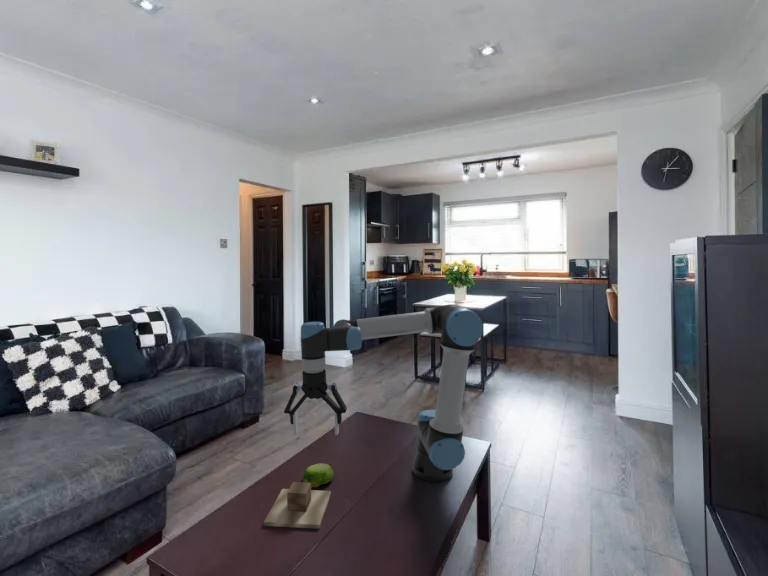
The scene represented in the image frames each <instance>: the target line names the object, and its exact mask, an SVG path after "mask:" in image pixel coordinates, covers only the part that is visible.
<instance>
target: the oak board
mask: <svg viewBox="0 0 768 576" xmlns="http://www.w3.org/2000/svg"><path fill="white" fill-rule="evenodd" d="M289 489H290V488H282V489H281V490H280V492H279V494H278V495H277V498H276V499H275V501H274V503H273V505H272V507H271V508H270V510H269V512H268V513H267V515H266V517H265V519H264V520H263V526H264V527H278V528H279V527H281V528H298V529H299V528H300V529H317V530H318V529H320V528H321V525H322V522H323V519H324V516H325V513H326V510H327V508H328V506H329V503H330V502H329V501H330V499H331V496H332V491H331V490H316V489H315V490H314V489H311V502H310V504H309V507H308V509H307V511H306V512H297V511H287V492H288V490H289Z"/></svg>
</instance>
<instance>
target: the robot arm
mask: <svg viewBox="0 0 768 576" xmlns="http://www.w3.org/2000/svg"><path fill="white" fill-rule="evenodd" d="M483 330H484V326H483V323H482V319H481V318H480V316H479V315H478V314H477V313H476V312H474V311H473V309H470V308H468V307H464V306H461V305H458V304H445V305H439V306H434V307H426V308H425V309H424V310H423V311H416V312H407V313H397V314H390V315H382V316H374V317H367V318H358V319H349V320H348V319H339V320H338V321H336V322H335V323H334V324H333V326H332V327H330V328H329V327H325V324H324V322H322V321H309V322H307V321H306V322H304V323H302V325H301V326H300V346H301V347H300V349H301V350H300V351H301V370H302V373H301V375H302V376H301V377H302V384H299V383H295V384H294V385H293V387H292V393H291V395H290V398H289V399H288V402H287V404H286V406H285V408H284V411H283V412H284V414H288V415H289V417H290V418H289V421H290V425H293V426H292V427H293V435H294V436H297V435H298V433H299V416H298V415H299V414H298V412H297V410H299V408H300V406H302V404H303V403H304V402H305V401H306V399H310V400H313V399H314V400H315V399H316V400H320V399H322V400H323V401H324V402H325V403H326V404H327V405H328V406H329V407H330V408H331V409H332V410H333V412H334V413H335V414H334V435H335V436H338V435H339V432H340V427H339V426H340V425H341V424H342V421H343V420H342V419H343V417H342V414H346V413H347V411H348V407H347V406H346V404H345V402H344V400H343V398H342V396H341V395H340V393H339V391H338V388H337V383H335V382H334V383H332V384H327V371H326V368H327V367H326V352H338V351H339V352H343V351H352V352H353V351H354V350H355V351H356V350H357V351H358V350H360V349H362V341H364V340H370V339H377V338H388V337H395V336H403V335H412V334H419V333H427V334H429V335H434V334H436V335H437V334H439V335H440V342H439V346H440V347H441V348H442V349H443V352H442V353H443V354H442V361H441V368H440V376H439V384H438V390H437V399H436V405H435V409H426V410H421V411H420V412H419V413H418V415H417V450H416V454H415V456H414V460H413V463H412V472H413V474H414V476H416V477H417V478H419V479H420V480H423V481H425V482H431V483H439V482H441V483H442V482H445V481H447V480H450V478H451V477H452V476H453V473H454V469H455V468H457V467H458V466H460V465H461V464H462V463H463V460H464V459H465V457H466V456H465V455H466V450H465V446H464V444H463V443H462V441H463V435H464V426H463V425H462V423H461V415H462V410H463V409H462V408H463V402H464V395H465V394H464V393H465V389H466V380H467V372H468V367H469V358H470V354H472V353H474V352H475V349H476V344H477V343H478V341H479V340H480V339H481V337H482V335H483ZM327 390H329V391H330V392H331V394H332V395H333V398H334V399H335V401H334V400H333V399H332V397H331V396H330V395H329V393H328V392H327ZM300 391H302V392H303V396H301V398H300V399H299V400H298V402H296V404H295V405H294V406H293V408H291V407H292V405H293V403H294V401H295V399H296V396H297V395H298V392H300Z"/></svg>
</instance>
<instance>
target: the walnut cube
mask: <svg viewBox="0 0 768 576" xmlns="http://www.w3.org/2000/svg"><path fill="white" fill-rule="evenodd" d="M288 489H289V490H288V492H287V511H297V512H306V511H307V509H308V507H309V504H310V502H311V490H312V488H311V483H306V482H303V481H301V482H300V481H292V483H291V484H290V487H289V488H288Z"/></svg>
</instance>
